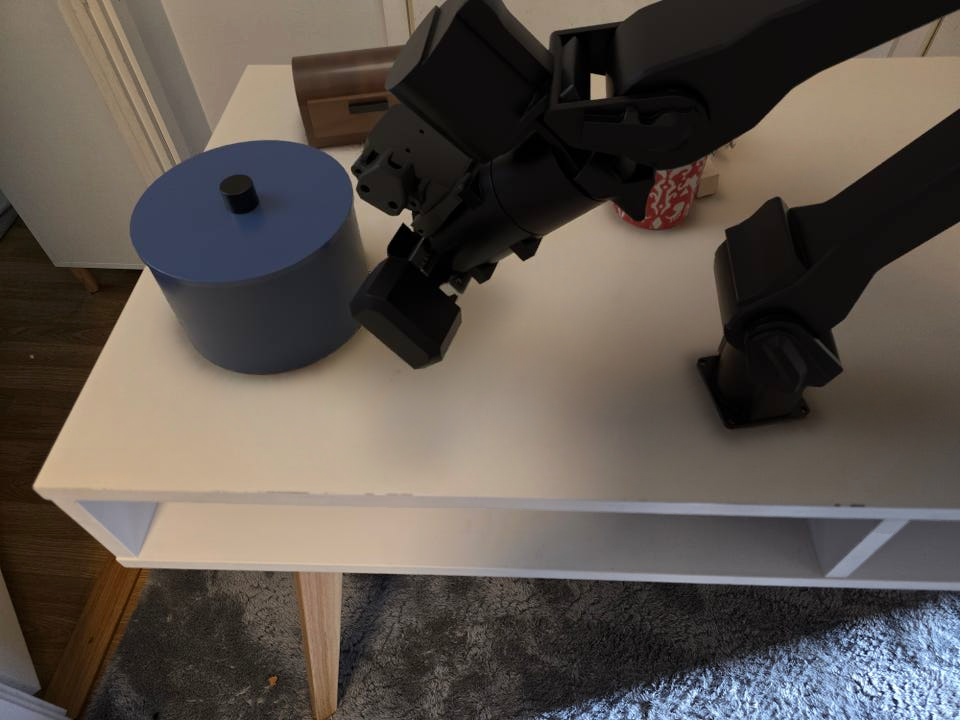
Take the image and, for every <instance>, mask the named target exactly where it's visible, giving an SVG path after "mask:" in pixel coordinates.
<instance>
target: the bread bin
mask: <svg viewBox="0 0 960 720" xmlns="http://www.w3.org/2000/svg"><path fill="white" fill-rule="evenodd" d="M404 46H405V44H398V45H397V44H396V45H389V46H379V47H371V48H370V47H369V48H361V49H352V50H343V51H334V52H325V53H316V54H308V55H306V54H305V55H298V56H297V55H296V56H292V57H291V72H292V73H291V74H292V80H293V87H294V93H295V97H296V102H297V106H298V110H299V113H300V119H301V122H302V126H303V129H304V134H305V137H306V140H307V141H306V142H307V145H308V146H312V147H314V148H317V149H320V148H329V147H338V146H346V145H354V144H362V143H365V142H366V139H367V135H368V134H369V132H370V131H371V130H372V128H373V127H374V126H375V125H376V124H377V122H378V121H379V120H380V119H381V117H382V116H383V115H384V114H385V112H386V111H387V110H388V109H389V107H390V106H392V105H394V104H403V103H401V102H400V101H399V100H398V99H397V98H395V97H394V96H393V95H392V94H390V93H389V92H388V91H387V90H386V89H385V82H386V79H387V76H388V74H389V72H390V70H391V68H392V66H393V64H394V62H395V60H396V58H397V57H398V55H399V54H400V52H401V50H402V49H403V47H404Z"/></svg>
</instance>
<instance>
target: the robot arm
mask: <svg viewBox="0 0 960 720" xmlns="http://www.w3.org/2000/svg"><path fill="white" fill-rule="evenodd" d="M959 11H960V0H658V1H656V2H653V3H650V4H647V5H646V6H642V7H641V8H639V9H637V10H636V11H635V12H633V13H632V14H631V15H629V16H628V17H626V18H625V19H624V20H620V21H615V22H606V23H600V24H599V23H598V24H592V25H586V26H579V27H572V28H565V29H557V30H554V31H552V32H551V34H550V35H549V41H548V48H547V47H546V46H544V44H543V43H542V42H541V41H540V40H539V39H537V38H536V36H535V35H534V34H533V33H532V32H531V31H530V30H529V29H528V28H527V27H526V26H525V25H524V24H522V22H521V21H520V20H519V19H518V18H517V17H516V16H515V15H514V14H513V13H511V11H510V10H509V9H508V8H507V6H506V4H505V3H504V1H503V0H445V1H444V2H443V3H442V4H440V6H439V5H437V4H436V5H434V6H433V7H432V8H431V10H430V11H429V12H428V13H427V14H426V15H425V17H424V18H423V19H422V20H421V22H420V23H419V24H418V26H417V27H416V28H415V29H414V31H413V33H412V34H411V35H410V37H409V38H408V40H407V41H406V43H405V44H404V45H405V46H404V47H403V49H402V50H401V52H400V54H399V55H398V57H397V58H396V60H395V62H394V64H393V66H392V68H391V70H390V72H389V74H388V76H387V79H386V82H385V89H386V90H387V91H388V92H389V93H390V94H392V95H393V96H394V97H395V98H397V99H398V100H399V101H400V102H401V103H403V104H394V105H392V106H390V107H389V109H388V110H387V111H386V112H385V114H384V115H383V116H382V117H381V119H380V120H379V121H378V122H377V124H376V125H375V126H374V127H373V128H372V130H371V131H370V132H369V134H368V135H367V139H366V142H364V145H363V149H362V152H361V153H360V154H359V156H358V157H357V159H356V160H355V161H354V162H353V164H352V165H351V167H350V172H351V174H352V175H353V176H354V177H355V178H356V180H357V184H356V186H355V192H356V193H357V196H358V197H359V199H360V200H362V201H364V202H365V203H367V204H369V205H370V206H372V207H374V208H375V209H377V210H379V211H381V212H382V213H384V214H386V215H387V216H390V217H398V216H401V213H402V212H403V211H404V210H408V211H410V212H411V220H412V221H411V223H410V227H411V228H412V229H411V228H410V227H409V226H408V225H407V224H406V223H405V222H402V223H401V224H400V226H399V228H398V229H397V231H396V232H395V233H394V235H393V237H392V238H391V239H390V241H389V243H388V244H387V246H386V255H387V257H386V258H384V259H383V260H381V261H380V262H379V263H377V265H376V266H375V267H374V268H373V269H372V270H371V271H370V272H369V275H368V276H367V278H366V279H365V281H364V282H363V284H362V285H361V287H360V288H359V290H358V291H357V293H356V294H355V296H354V297H353V299H352V300H351V302H350V303H349V306H350V311H351V315H352V318H354V319H355V320H356V321H357V322H358V323H360V324H361V326H362V327H363V328H364V329H365V330H367V331H368V332H369V333H370V334H371V335H373V336H374V337H375V339H377V340H378V341H380V343H382V344H383V345H384V346H385V347H387V348H388V349H389V350H390V351H391V352H392V353H394V354H395V355H396V356H398V357H399V358H400V359H401V361H403V362H404V363H405V364H406V365H408V366H409V367H411V369H413V370H414V371H416V370H425V369H428V368H429V367H431V366H434V365H436V364H439V363H441V362H443V360H444V359H445V356H446V354H447V352H448V351H449V349H450V346H451V345H452V343H453V341H454V339H455V337H456V335H457V333H458V331H459V328H460V327H461V325H462V323H463V314H462V307H461V306H460V305H458V304H457V301H458V299H459V297H461V296H463V295H464V294H465V292H466V290H467V289H468V287H469V285H470V283H471V281H472V280H475V282H477V283H478V284H479V285H482V284H484V283H486V282H488V281H490V280H491V278H492V276H493V275H494V272H495V270H496V268H497V267H498V264H499V262H500V261H502V260H504V259H506V258H508V257H509V256H511V255H513V254H514V255H516V256H517V258H519V260H521V262H526V261H527V260H530V259H531V258H533V257H535V255H536V253H537V252H538V249H539V247H540V245H541V243H542V240H543V238H544V237H545V236H547V235H549V234H550V233H553V232H554V231H556V230H558V229H560V228H562V227H563V226H565V225H568V224H569V223H571V222H572V221H574V220H576V219H577V218H580V217H582V216H583V215H585V214H587V213H588V212H591V211H592V210H594V209H596V208H598V207H600V206H602V205H603V204H606V203H607V202H608V201H609V202H611V203H612V204H613V203H614V204H615V205H616V206H618V207H619V208H620V209H621V210H622V211H623V212H624V213H625V214H626V215H627V216H629V217H630V218H631V219H632V220H633V221H635V222H642V221H643V220H644V219H645V216H646V208H647V201H648V196H649V193H650V191H651V189H652V187H653V186H654V184H655V182H656V174H657V171H667V170H674V169H677V168H681V167H684V166H688V165H691V164H693V163H695V162H697V161H699V160H700V159H702V158H704V157H705V156H707V155H709V156H710V154H711V153H712V152H714V153H715V151H717V150H719V149H721V148H722V147H724V145H726V144H727V143H729V142H731V141H733V140H734V139H735V140H736V139H738V138H739V137H741V136H743V135H745V134H746V133H748V132H749V131H751V130H753V129H754V128H756V127H757V126H758V125H759V124H760V123H761V122H762V121H763V120H764V119H765V118H766V117H767V115H768V114H770V113H771V112H772V111H773V109H774V108H775V107H776V106H778V104H779V103H780V102H781V101H783V100H784V98H785V97H786V96H787V95H788V94H789V93H791V91H793V90H794V89H795V88H796V87H798V86H800V85H802V84H803V83H806V81H808V80H809V79H811V78H813V77H815V76H817V75H818V74H820V73H822V72H824V71H826V70H828V69H831V68H833V67H836V66H838V65H840V64H842V63H845V62H847V61H849V60H851V59H853V58H856V57H858V56H860V55H862V54H864V53H867V52H870V51H871V50H873V49H876V48H878V47H880V46H882V45H884V44H887V43H890V42H891V41H893V40H896V39H898V38H901V37H903V36H905V35H907V34H910V33H912V32H913V31H916V30H919V29H920V28H923V27H925V26H927V25H930V24H932V23H934V22H936V21H938V20H941V19H943V18H945V17H948V16H950V15H952V14H954V13H957V12H959ZM592 75H597V76H602V77H605V97H604V98H595V99H592ZM959 223H960V107H959V108H957V109H956V110H955V111H953V112H952V113H950V114H949V115H948V116H946V117H945V118H943V119H942V120H941V121H939V122H938V123H936V124H935V125H933V126H932V127H930V128H929V129H928V130H927V131H925V132H923V133H922V134H921V135H918V137H916V138H915V139H914V140H912V141H910V142H909V143H908V144H906V145H905V146H903V147H902V148H901V149H900V150H898V151H897V152H895V153H894V154H893V155H891V156H890V157H888V158H886V159H885V160H884V161H882V162H881V163H879V164H878V165H877V166H875V167H874V168H873V169H871V170H869V171H868V172H867V173H865V174H864V175H862V176H861V177H859V178H858V179H857V180H855V181H854V182H853V183H851V184H850V185H848V186H846V187H845V188H844V189H843V190H842V191H839V192H838V193H837V194H836V195H834V196H832V197H831V198H828V199H827V200H825V201H824V202H823V201H822V202H817V203H811V204H804V205H799V206H792V207H789V205H788V204H787V203H786V201H785V200H784V199H783V198H782V197H781V196H777V195H776V196H774V197H771V198H770V199H767V200H766V201H765V202H764V203H762V205H761V206H760V207H759V208H758V209H757V210H756V211H754V213H752V215H750V216H749V217H747V218H746V219H744V220H743V221H741V222H739V223H737V224H734V225H731V226H730V227H726V228H725V229H724V235H725V240H724V241H723V242H721V244H719V246H718V247H717V249H716V250H715V252H714V259H713V266H712V267H713V269H712V270H713V275H714V276H713V277H714V282H715V289H716V295H717V300H718V306H719V313H720V319H721V326H722V332H723V333H722V334H723V335H722V337H721V341H720V343H719V346H718V348H717V354H716V355H708V356H702V357H698V359H697V360H696V369H697V370H698V373H699V375H700V377H701V379H702V382H703V384H704V385H705V387H706V389H707V392H708V394H709V396H710V398H711V400H712V403H713V405H714V408H715V409H716V411H717V414H718V416H719V417H720V420H721V422H722V424H723V426H724V427H725V428H726V429H728V430H739V429H743V428H744V429H745V428H750V427H751V428H752V427H757V426H762V425H768V424H775V423H780V422H787V421H793V420H799V419H805V418H807V417H808V416H809V414H810V413H811V408H810V406H809V404H808V403H807V401H806V399H805V398H804V396H803V394H804V393H805V390H806V389H807V388H823V387H825V386H826V385H828V384H829V383H830V382H832V381H833V380H834V379H836V378H837V377H838V376H839V375H841V374H842V373H843V372H844V367H843V364H842V361H841V357H840V353H839V349H838V346H837V342H836V340H835V336H834V333H833V329H835V327H837V326H838V325H840V324H841V323H842V322H843V321H845V319H847V317H848V316H849V314H850V313H851V311H852V310H853V308H854V307H855V305H856V304H857V302H858V301H859V299H860V298H861V296H862V295H863V293H864V292H865V290H866V289H867V287H868V286H869V284H870V283H871V281H872V279H873V278H874V276H875V275H876V274H877V273H878V272H879V271H880V270H882V269H883V268H884V267H887V266H888V265H890V264H891V263H893V262H895V261H896V260H898V259H900V258H901V257H903V256H905V255H906V254H908V253H910V252H911V251H913V250H915V249H917V248H918V247H920V246H922V245H923V244H925V243H927V242H928V241H930V240H932V239H933V238H935V237H937V236H939V235H940V234H943V232H945V231H947V230H948V229H950V228H953V227H954V226H956V225H957V224H959ZM731 422H732V423H731Z"/></svg>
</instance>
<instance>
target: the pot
mask: <svg viewBox="0 0 960 720" xmlns="http://www.w3.org/2000/svg"><path fill="white" fill-rule="evenodd" d="M360 231H361V230H360V227H359V222H358V217H357V212H356V208H355V192H354V187H353V183H352V180H351V177H350V175H349V174H348V172H347V170H346V168H345V167H344V166H343V165H342V164H341V163H340V161H338V160H337V159H335V158H334V157H333V156H332V155H330V154H329V153H327V152H326V151H323V150H321V149H320V148H314V147H312V146H309V145H308V144H304V143H301V142H296V141H290V140H280V139H259V140H258V139H257V140H247V141H240V142H234V143H230V144H225V145H221V146H218V147H214V148H211V149H208V150H205V151H203V152H200V153H198V154H195V155H193V156H190V157H189V158H186V159H184V160H183V161H181V162H179V163H178V164H176V165H174V166H173V167H171V168H170V169H168V170H167V171H165V172H164V173H162V174H161V175H160V176H159V177H157V178H156V179H155V180H154V181H153V182H152V183H151V184H150V185H149V186H148V187H147V188H146V189H145V190H144V192H143V193H142V194H141V196H140V197H139V198H138V200H137V202H136V203H135V206H134V207H133V210H132V213H131V216H130V219H129V237H130V241H131V245H132V247H133V248H134V250H135V252H136V254H137V256H138V258H139V259H140V260H141V262H143V264H144V265H145V267H147V268H148V269H149V271H150V273H151V275H152V277H153V278H154V281H156V283H157V285H158V287H159V288H160V290H161V292H162V294H163V295H164V298H165V299H166V302H167V303H168V304H169V307H170V308H171V310H172V312H173V313H174V315H175V317H176V319H177V320H178V323H179V324H180V326H181V327H182V329H183V331H184V333H185V334H186V336H187V338H188V340H189V342H190V344H191V346H192V347H193V348H194V349H195V350H196V351H197V353H198V354H200V355H201V356H202V357H203V358H204V359H205V360H207V361H208V362H210V363H212V364H213V365H215V366H218V367H220V368H222V369H225V370H227V371H231V372H235V373H240V374H248V375H270V374H280V373H284V372H290V371H293V370H298V369H301V368H304V367H306V366H308V365H309V366H310V365H312V364H313V363H316V362H318V361H320V360H322V359H324V358H326V357H328V356H329V355H331V354H333V353H334V352H335V351H337V350H338V349H339V348H340V347H342V346H343V345H345V344H346V343H347V342H348V341H349V340H350V339H351V338H352V337H353V336H354V335H355V334H356V332H357V331H358V330H359V329H360V327H361V326H362V325H361V324H360V323H358V322H357V321H356V320H355V319H354V318H352V315H351V311H350V306H349V303H350V302H351V300H352V299H353V297H354V296H355V294H356V293H357V291H358V290H359V288H360V287H361V285H362V284H363V282H364V281H365V279H366V278H367V276H368V275H369V274H370V271H369V268H368V263H367V259H366V254H365V250H364V249H365V248H364V246H363V241H362V240H363V239H362V236H361V235H362V234H361V232H360Z"/></svg>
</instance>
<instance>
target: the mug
mask: <svg viewBox="0 0 960 720" xmlns="http://www.w3.org/2000/svg"><path fill="white" fill-rule="evenodd" d="M707 158H708V155H707V156H705V157H704V158H702V159H700V160H699V161H697V162H695V163H693V164H691V165H688V166H684V167H681V168H677V169H674V170H667V171H657V174H656V182H655V184H654V186H653V187H652V189H651V191H650V193H649V196H648V201H647V208H646V216H645V219H644V220H643V221H642V222H635V221H633V220H632V219H631V218H630V217H629V216H627V215H626V214H625V213H624V212H623V211H622V210H621V209H620V208H619V207H618V206H616V205H615V204H614V203H613V202H612V204H613V208H614V210H615V212H616V213H617V214H618V216H619V217H620V218H622V220H624V221H625V222H626V223H629V224H631V225H632V226H636V227H638V228H642V229H647V230H664V229H670V228H672V227H675V226H677V225H679V224H680V223H682V222H683V221H684V220H685V219H686V218H687V216H688V214H689V212H690V210H691V207H692V203H693V201H694V198H695V196H696V194H695V192H696V189H697V186H698V183H699V180H700V178H701V175H702V172H703V169H704V167H705V164H706V161H707Z"/></svg>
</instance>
